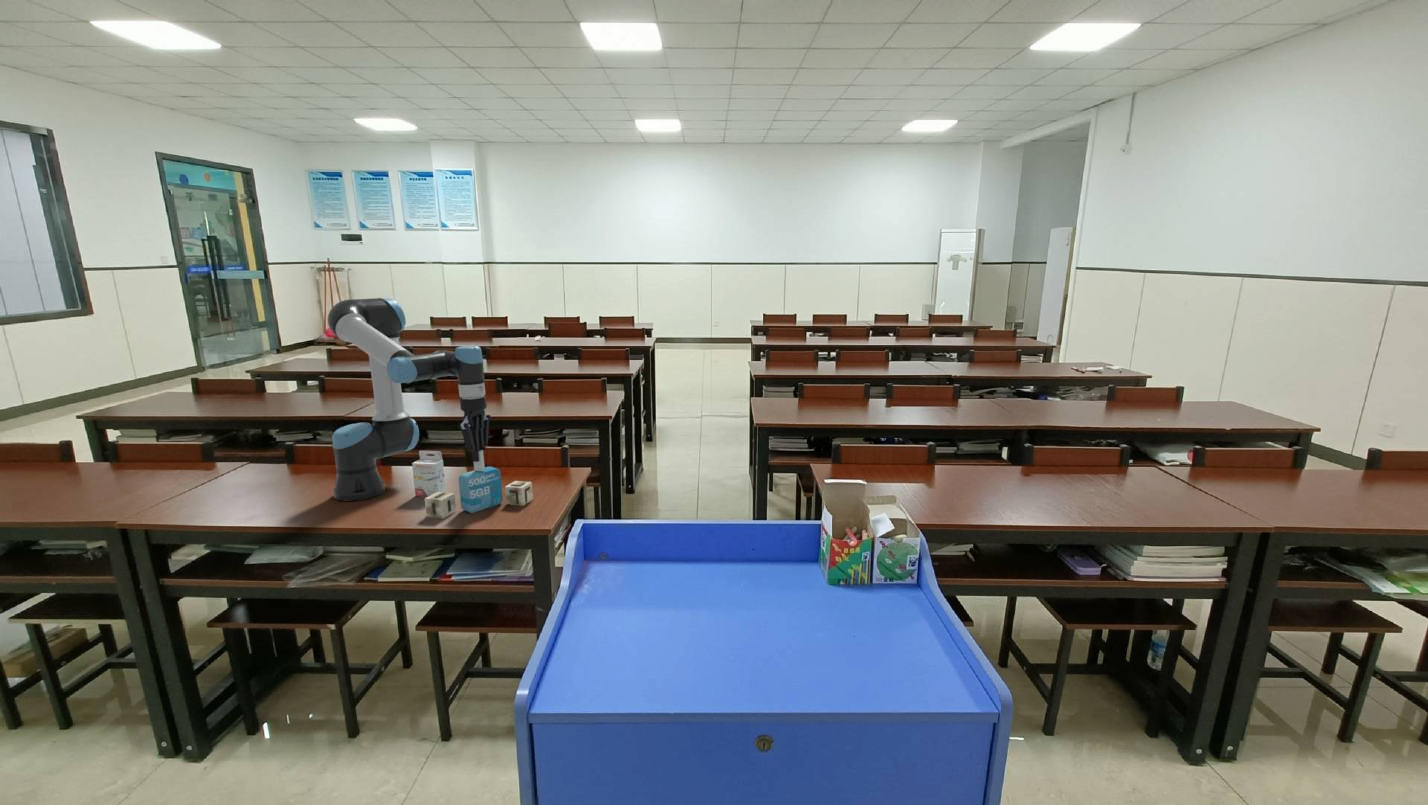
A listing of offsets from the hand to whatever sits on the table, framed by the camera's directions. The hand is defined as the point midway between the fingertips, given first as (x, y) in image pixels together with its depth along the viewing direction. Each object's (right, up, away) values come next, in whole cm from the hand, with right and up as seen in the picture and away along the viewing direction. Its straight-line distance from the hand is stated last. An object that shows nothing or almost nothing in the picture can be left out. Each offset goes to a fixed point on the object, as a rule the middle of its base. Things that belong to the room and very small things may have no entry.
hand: (479, 470), depth 194 cm
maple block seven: (+10, -11, +7) cm, 17 cm away
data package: (0, -12, +3) cm, 12 cm away
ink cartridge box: (-22, -10, +14) cm, 28 cm away
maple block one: (-11, -13, -3) cm, 17 cm away
